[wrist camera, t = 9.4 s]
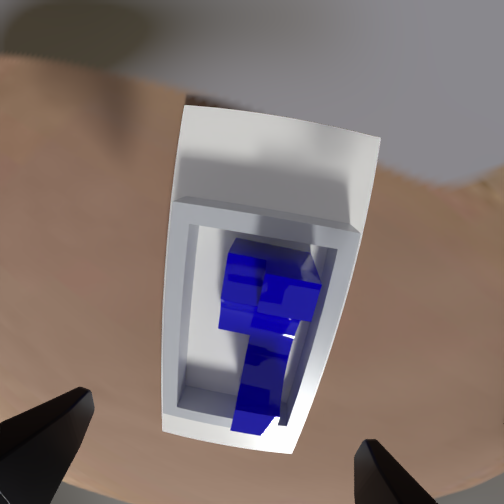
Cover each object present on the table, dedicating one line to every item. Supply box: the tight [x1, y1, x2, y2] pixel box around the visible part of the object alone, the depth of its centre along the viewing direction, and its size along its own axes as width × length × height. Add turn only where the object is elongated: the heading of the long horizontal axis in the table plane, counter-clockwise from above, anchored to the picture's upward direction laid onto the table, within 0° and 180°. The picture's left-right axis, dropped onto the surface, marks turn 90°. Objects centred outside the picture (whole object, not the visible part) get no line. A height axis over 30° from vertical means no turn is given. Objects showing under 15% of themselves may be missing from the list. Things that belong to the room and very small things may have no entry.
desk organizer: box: [161, 105, 381, 454], centre depth 15 cm, size 9×20×3 cm, turn 171°
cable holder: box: [218, 238, 322, 438], centre depth 14 cm, size 8×4×4 cm, turn 169°
